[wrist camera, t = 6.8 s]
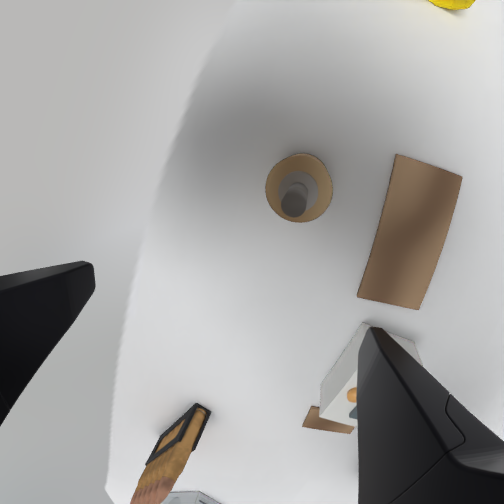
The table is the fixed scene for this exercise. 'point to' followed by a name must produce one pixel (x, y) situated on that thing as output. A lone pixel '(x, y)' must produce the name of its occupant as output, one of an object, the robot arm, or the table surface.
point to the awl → (299, 188)
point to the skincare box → (188, 498)
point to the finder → (350, 380)
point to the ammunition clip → (170, 456)
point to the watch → (453, 3)
